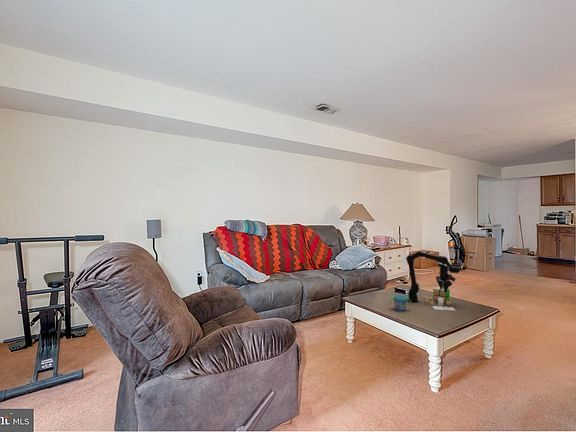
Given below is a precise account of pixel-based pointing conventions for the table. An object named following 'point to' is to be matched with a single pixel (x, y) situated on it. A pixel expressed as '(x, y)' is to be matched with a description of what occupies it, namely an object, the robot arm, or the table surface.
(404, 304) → the snack cup
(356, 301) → the table surface
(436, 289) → the puzzle cube
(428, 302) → the maple block
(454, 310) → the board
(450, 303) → the rubber ball
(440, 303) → the ceramic cylinder
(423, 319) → the table surface
